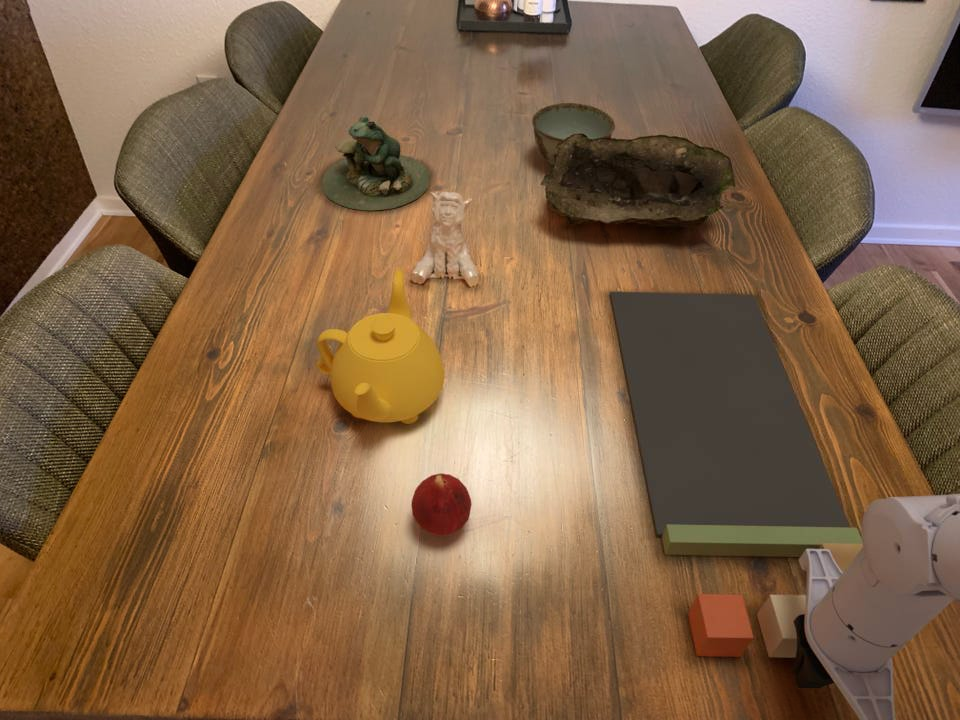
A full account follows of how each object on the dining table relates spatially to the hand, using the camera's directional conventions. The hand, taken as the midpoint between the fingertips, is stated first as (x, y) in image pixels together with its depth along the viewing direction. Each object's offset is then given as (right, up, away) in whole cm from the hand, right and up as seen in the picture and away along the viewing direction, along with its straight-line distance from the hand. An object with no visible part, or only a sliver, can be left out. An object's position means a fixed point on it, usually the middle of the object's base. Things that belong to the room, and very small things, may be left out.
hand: (806, 680), depth 60 cm
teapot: (-39, +23, +24) cm, 52 cm away
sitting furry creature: (-33, +40, +41) cm, 66 cm away
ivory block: (0, +2, +4) cm, 5 cm away
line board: (0, +23, +25) cm, 34 cm away
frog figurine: (-45, +57, +57) cm, 93 cm away
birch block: (+6, +6, +8) cm, 12 cm away
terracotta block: (-6, +2, +4) cm, 8 cm away
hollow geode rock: (-5, +48, +50) cm, 70 cm away
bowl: (-13, +61, +63) cm, 88 cm away
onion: (-32, +10, +12) cm, 35 cm away
